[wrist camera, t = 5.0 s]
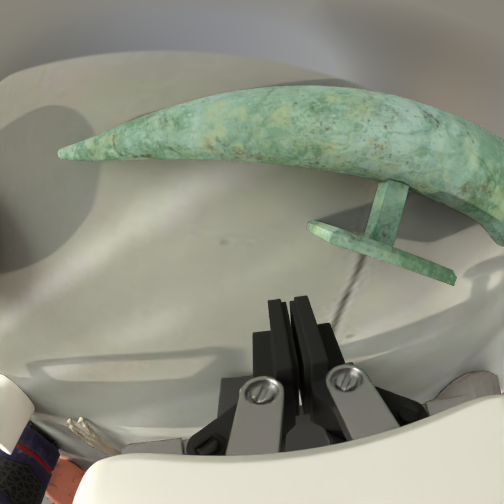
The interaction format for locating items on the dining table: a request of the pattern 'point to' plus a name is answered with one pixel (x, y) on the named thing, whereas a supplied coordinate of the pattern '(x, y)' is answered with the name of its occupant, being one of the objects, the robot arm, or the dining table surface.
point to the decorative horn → (332, 153)
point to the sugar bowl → (64, 482)
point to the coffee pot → (473, 385)
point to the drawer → (297, 437)
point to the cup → (12, 413)
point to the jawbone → (95, 440)
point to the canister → (27, 468)
